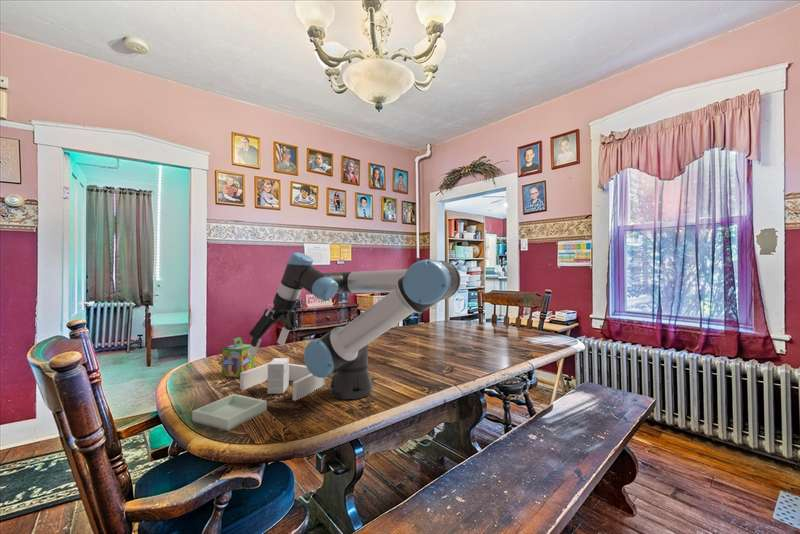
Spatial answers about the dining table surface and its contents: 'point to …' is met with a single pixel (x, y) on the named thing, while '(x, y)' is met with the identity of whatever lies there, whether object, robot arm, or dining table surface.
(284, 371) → the small box
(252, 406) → the tray
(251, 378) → the bay
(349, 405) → the dining table surface
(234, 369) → the chalk box
